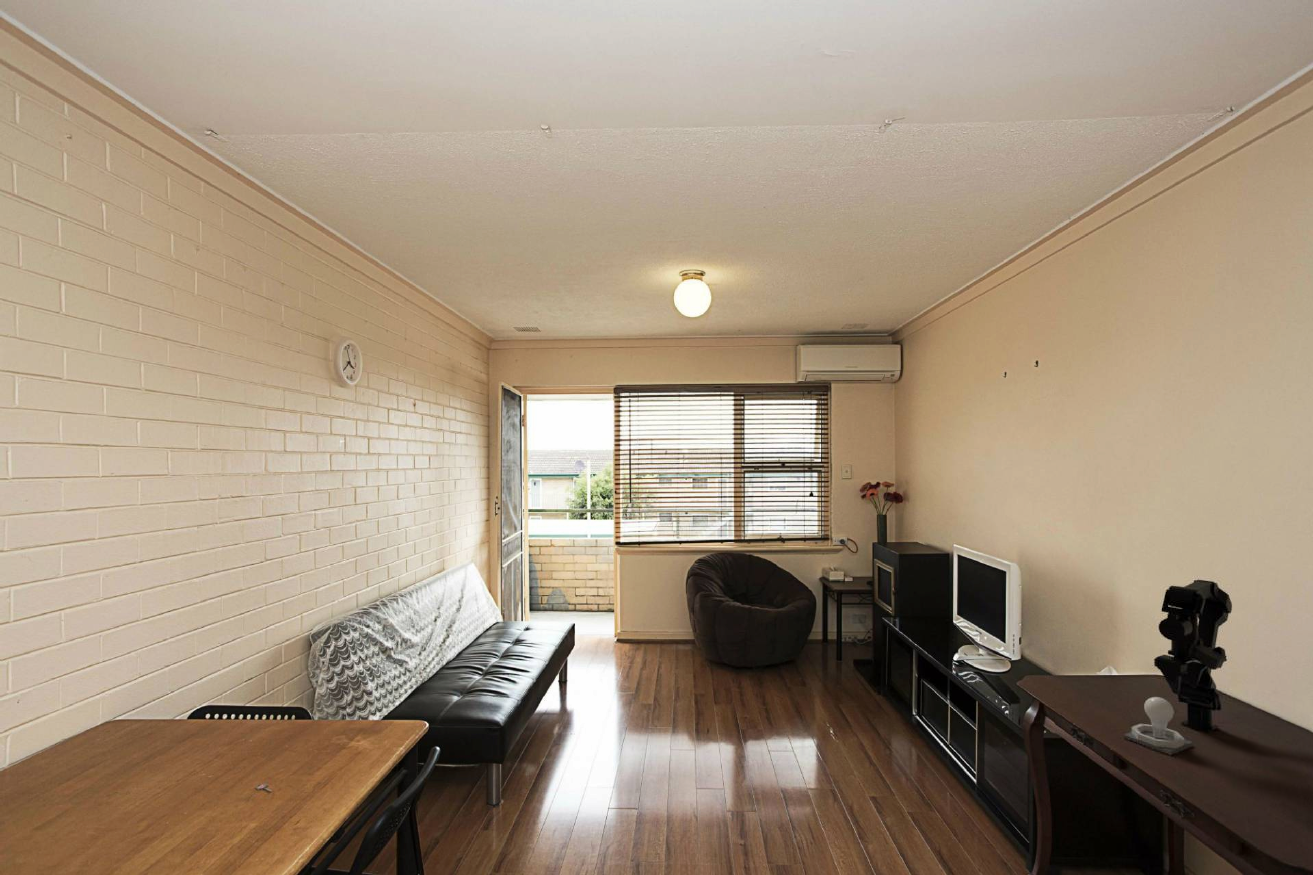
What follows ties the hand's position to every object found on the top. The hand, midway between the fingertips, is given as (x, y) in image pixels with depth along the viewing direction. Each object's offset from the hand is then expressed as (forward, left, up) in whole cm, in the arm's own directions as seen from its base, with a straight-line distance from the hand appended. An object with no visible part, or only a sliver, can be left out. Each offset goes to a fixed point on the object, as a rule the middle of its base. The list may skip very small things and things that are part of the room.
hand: (1185, 690), depth 179 cm
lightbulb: (+9, -2, -12) cm, 15 cm away
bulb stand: (+9, -2, -13) cm, 16 cm away
